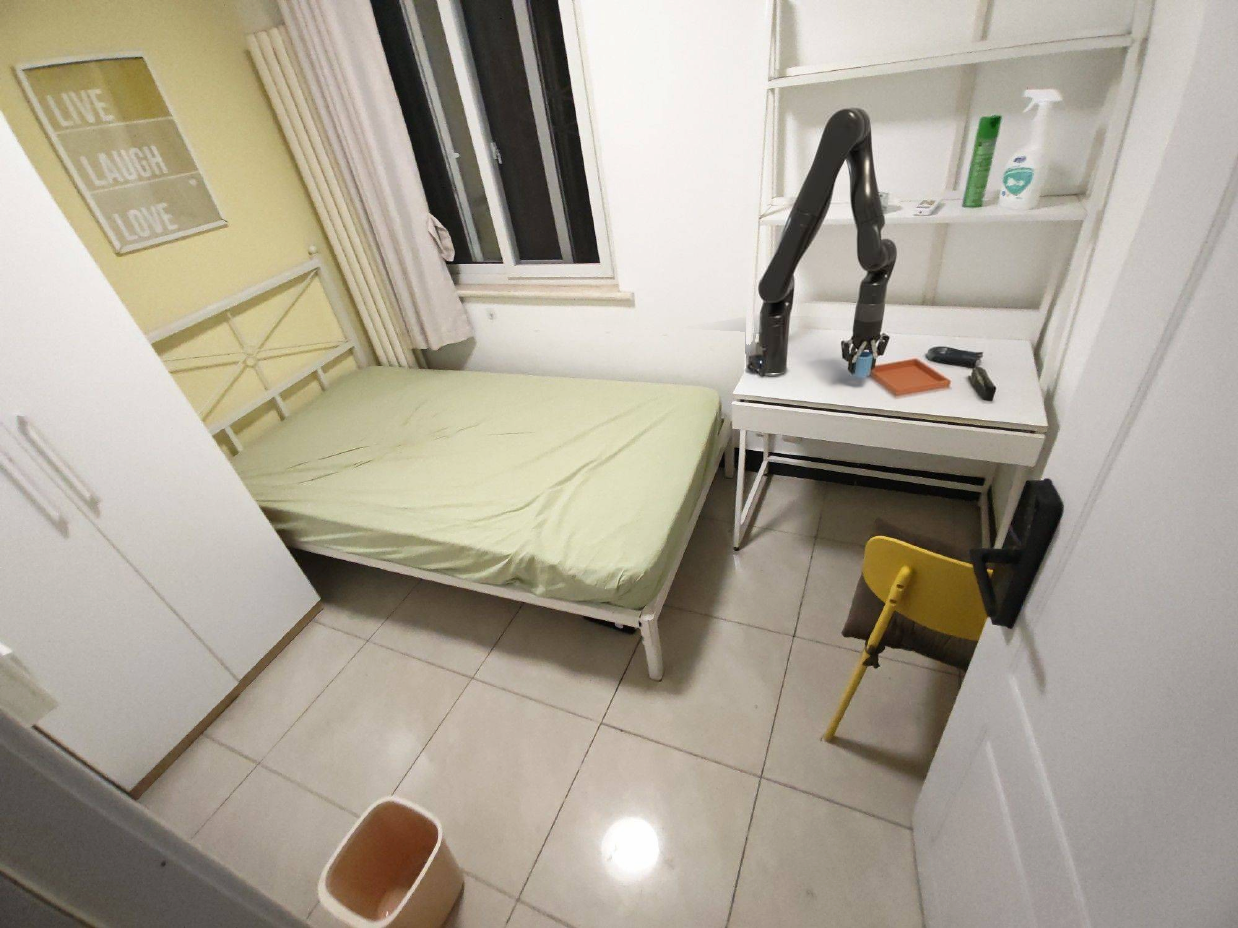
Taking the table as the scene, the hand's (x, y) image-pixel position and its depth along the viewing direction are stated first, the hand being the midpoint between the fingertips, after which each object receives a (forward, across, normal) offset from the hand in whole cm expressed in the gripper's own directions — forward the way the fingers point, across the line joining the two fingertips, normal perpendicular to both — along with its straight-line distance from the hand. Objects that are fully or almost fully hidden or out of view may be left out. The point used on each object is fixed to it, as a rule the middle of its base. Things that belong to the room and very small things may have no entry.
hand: (860, 370), depth 166 cm
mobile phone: (+6, -30, +13) cm, 33 cm away
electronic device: (+6, -35, -6) cm, 36 cm away
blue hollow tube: (+1, 0, 0) cm, 1 cm away
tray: (+6, -15, +1) cm, 16 cm away
